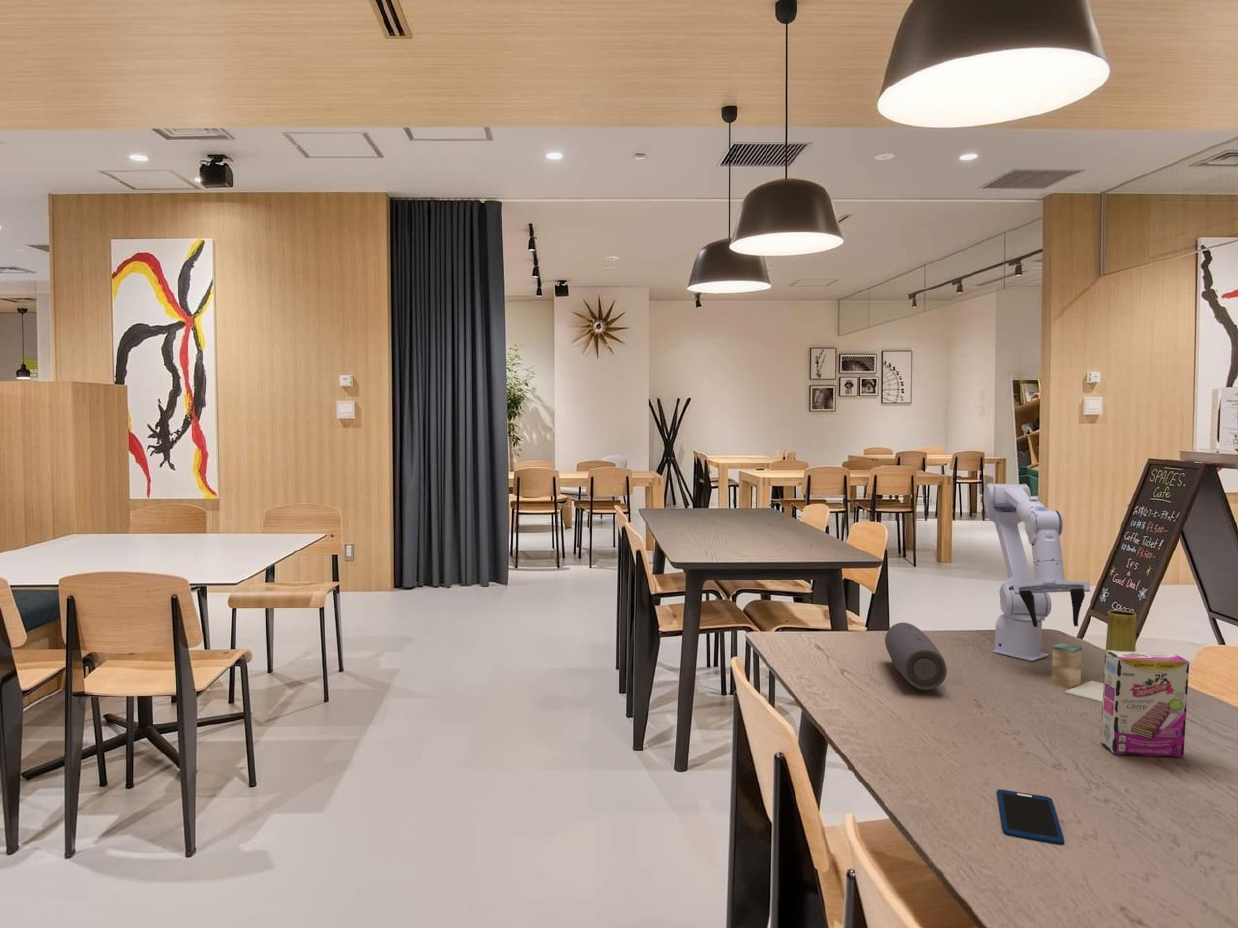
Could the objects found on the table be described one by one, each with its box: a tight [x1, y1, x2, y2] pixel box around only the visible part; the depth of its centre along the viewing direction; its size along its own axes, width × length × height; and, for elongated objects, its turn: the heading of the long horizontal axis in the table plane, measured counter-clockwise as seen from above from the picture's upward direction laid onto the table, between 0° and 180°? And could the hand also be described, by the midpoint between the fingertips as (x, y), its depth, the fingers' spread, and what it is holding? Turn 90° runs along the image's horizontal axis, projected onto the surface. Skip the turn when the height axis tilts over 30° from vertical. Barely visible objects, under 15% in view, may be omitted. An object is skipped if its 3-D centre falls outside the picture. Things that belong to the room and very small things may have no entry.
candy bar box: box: [1100, 650, 1190, 758], centre depth 133 cm, size 11×5×16 cm, turn 84°
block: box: [1051, 642, 1083, 689], centre depth 168 cm, size 4×4×8 cm
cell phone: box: [996, 789, 1065, 846], centre depth 111 cm, size 7×14×1 cm, turn 158°
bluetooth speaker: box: [884, 622, 948, 691], centre depth 171 cm, size 23×9×10 cm, turn 171°
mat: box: [1064, 680, 1104, 704], centre depth 163 cm, size 9×12×1 cm
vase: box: [1102, 609, 1137, 676], centre depth 172 cm, size 6×6×14 cm
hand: (1055, 626), depth 171 cm, fingers open, 7 cm apart
